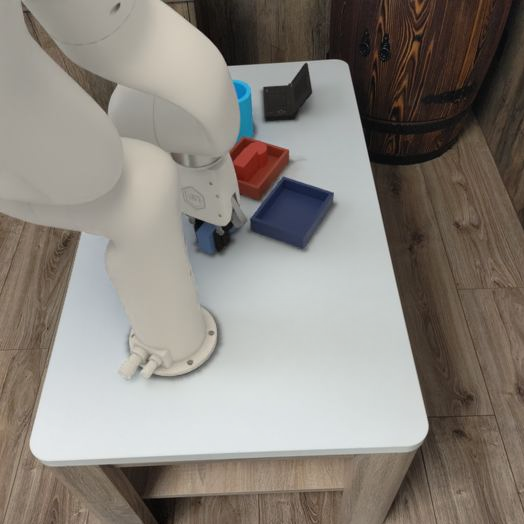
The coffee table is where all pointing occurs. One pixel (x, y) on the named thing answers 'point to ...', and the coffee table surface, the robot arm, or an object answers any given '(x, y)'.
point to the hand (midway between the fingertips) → (213, 241)
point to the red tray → (264, 175)
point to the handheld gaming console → (287, 96)
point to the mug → (244, 109)
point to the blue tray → (292, 212)
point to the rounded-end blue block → (208, 237)
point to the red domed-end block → (250, 161)
